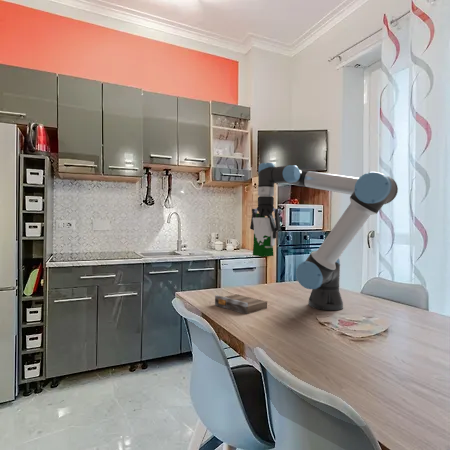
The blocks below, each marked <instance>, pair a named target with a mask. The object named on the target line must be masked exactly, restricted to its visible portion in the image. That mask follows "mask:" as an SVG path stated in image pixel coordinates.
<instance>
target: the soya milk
mask: <svg viewBox="0 0 450 450" xmlns="http://www.w3.org/2000/svg"><path fill="white" fill-rule="evenodd" d="M258 215H259V212H257V217H256V218H253V224H254V230H253V244H252V245H253V246H252V256H254V257H263V258H264V257H265V258H266V257H274V255H275V254H274V246H271V232H272V228H271V225H270V219H269V218H268V217H267V216H261V218H258ZM273 219H274V222H275V217H273Z"/></svg>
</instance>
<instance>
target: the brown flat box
mask: <svg viewBox="0 0 450 450" xmlns="http://www.w3.org/2000/svg"><path fill="white" fill-rule="evenodd" d="M214 306H217V307H220V308H222V309H227V310H230V311H233V312H237V313H240V314H243V315H249V314H252V313H256V312H258V311H264V310H265V309H268V301H267V300H264V299H259V298H254V297H250V296H246V295H241V294H230V295H226V296H221V295H218V294H216V295H215V296H214Z"/></svg>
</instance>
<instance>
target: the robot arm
mask: <svg viewBox="0 0 450 450" xmlns="http://www.w3.org/2000/svg"><path fill="white" fill-rule="evenodd" d="M257 174H258V176H257V177H258V180H257V181H258V183H257V185H258V186H257V196H258V197H257V207H256V208H251V220H250V226H249V228H250V230H252V231H254V224H253V218H257V213H259V215H258V218H261V216H265V217H267V218H269V219H270V225H271V228H272V232H271V246H273V247H274V246H275V245H276V244H275V243H276V241H275V240H276V239H277V234H278V233H277V232H278V231H281V220H280V211H281V209H280V208H275V207H274V205H275V204H274V203H275V197H274V196H275V184H289V185H294V186H297V187H306V188H311V189H317V190H323V191H327V192H334V193H341V194H345V195H350V196H349V202H350V203H349V205H348V206H347V208H346V209H345V211H344V212H343V213H342V215H341V217H340V218H339V219H338V220H337V222H336V223H335V225H334V226H333V227H332V229H331V230H330V231H329V233H328V235H327V236H326V237H325V239H324V241H323V242H322V243H321V244H320V246H319V248H318V249H317V250H315V251H312V252H311V253H310V254H309V255H308V257H306V260H304V261H302V262H301V263H299V264H298V265H297V267H296V271H295V277H296V280H297V282H298V283H299V285H300V286H301V287H303V288H304V289H308V290H311V292H310V295H309V297H308V306H309V307H311V308H313V309H317V310H321V311H338V310H343V308H344V302H343V299H342V295H341V292H340V278H341V277H340V274H341V273H340V272H341V270H340V268H341V262H340V257H341V256H342V254H343V253H344V251H345V250H346V249H347V248H348V246H349V245H350V244H351V242H352V240H354V238H355V237H356V236H357V234H358V233H359V231H360V230H361V229H362V227H363V226H364V224H365V223H366V222H367V221H368V219H370V217H371V216H372V215H376V214H378V212H379V211H380V210H381V209H382V207H384V205H386V204H387V205H388V204H389V203H391V202H393V200H395V198H396V196H397V195H398V191H399V188H398V184H397V182H396V181H395V179H394V178H392V177H390V176H388V175H386V174H385V173H382V172H380V171H370V172H365V173H364V174H362V175H361V176H360V177H355V176H347V175H341V174H333V173H332V174H331V173H325V172H318V171H311V170H305V169H300V168H299V167H298V166H297V165H295V164H294V165H282V166H276V165H275V164H274V163H273V162H261V163H259V164H258V171H257ZM273 213H274V215H273ZM273 218H275V222H274V219H273Z"/></svg>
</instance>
